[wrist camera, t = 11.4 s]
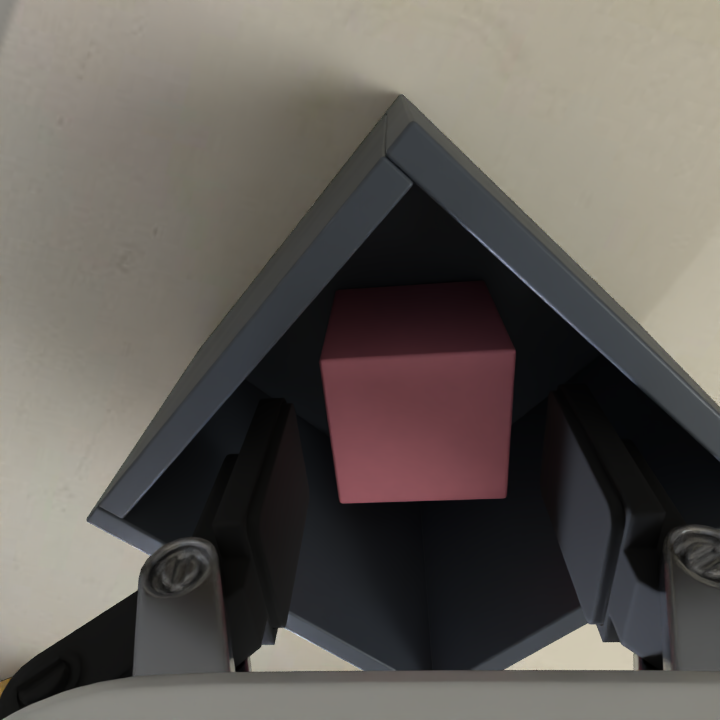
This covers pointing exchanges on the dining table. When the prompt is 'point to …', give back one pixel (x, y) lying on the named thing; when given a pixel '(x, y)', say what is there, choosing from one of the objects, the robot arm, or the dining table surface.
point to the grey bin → (419, 518)
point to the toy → (418, 393)
